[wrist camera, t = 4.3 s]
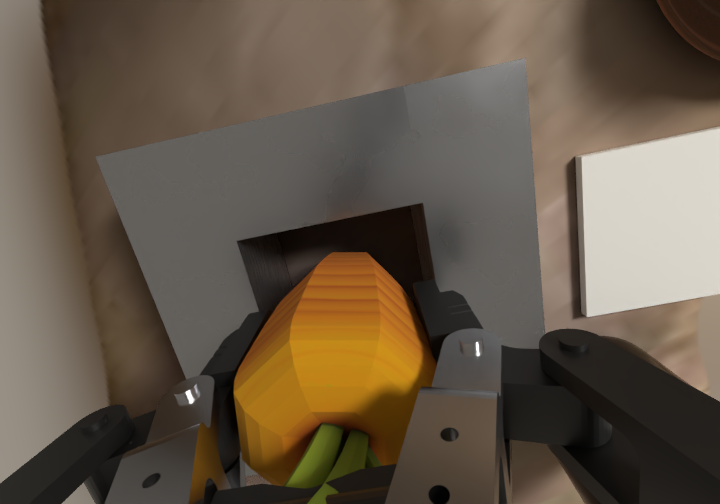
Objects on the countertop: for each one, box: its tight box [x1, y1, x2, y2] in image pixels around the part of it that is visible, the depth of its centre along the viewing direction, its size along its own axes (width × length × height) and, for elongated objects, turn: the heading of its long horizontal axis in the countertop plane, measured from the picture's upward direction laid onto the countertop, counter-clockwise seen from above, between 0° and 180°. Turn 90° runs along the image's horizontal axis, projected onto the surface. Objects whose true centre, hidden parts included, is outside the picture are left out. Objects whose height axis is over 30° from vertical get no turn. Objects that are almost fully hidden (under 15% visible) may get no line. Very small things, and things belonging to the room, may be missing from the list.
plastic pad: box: [575, 126, 720, 317], centre depth 17 cm, size 8×8×1 cm
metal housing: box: [96, 58, 545, 476], centre depth 16 cm, size 14×14×5 cm
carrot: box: [234, 252, 437, 504], centre depth 11 cm, size 5×5×15 cm
